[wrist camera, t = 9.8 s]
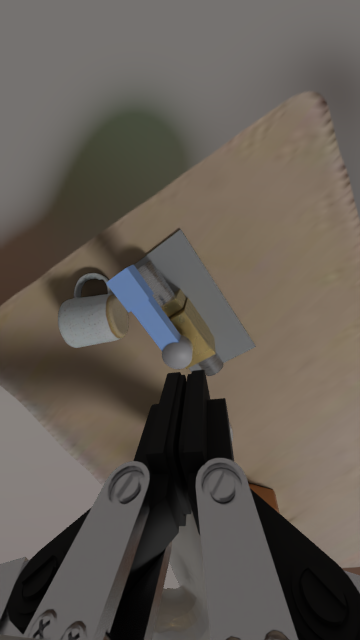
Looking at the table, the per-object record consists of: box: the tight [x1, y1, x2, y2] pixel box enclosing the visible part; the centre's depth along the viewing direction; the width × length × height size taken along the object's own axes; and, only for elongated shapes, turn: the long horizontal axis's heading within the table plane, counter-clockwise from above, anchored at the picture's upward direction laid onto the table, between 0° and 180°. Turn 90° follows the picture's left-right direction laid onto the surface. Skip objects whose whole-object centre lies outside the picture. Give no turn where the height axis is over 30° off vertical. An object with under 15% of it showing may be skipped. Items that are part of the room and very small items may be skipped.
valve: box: [137, 260, 223, 376], centre depth 32 cm, size 20×6×8 cm, turn 35°
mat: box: [134, 229, 256, 372], centre depth 35 cm, size 22×12×1 cm, turn 35°
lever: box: [106, 265, 193, 369], centre depth 26 cm, size 4×13×2 cm, turn 34°
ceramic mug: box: [58, 273, 129, 348], centre depth 33 cm, size 11×8×8 cm
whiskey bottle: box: [248, 483, 279, 513], centre depth 37 cm, size 10×10×32 cm
